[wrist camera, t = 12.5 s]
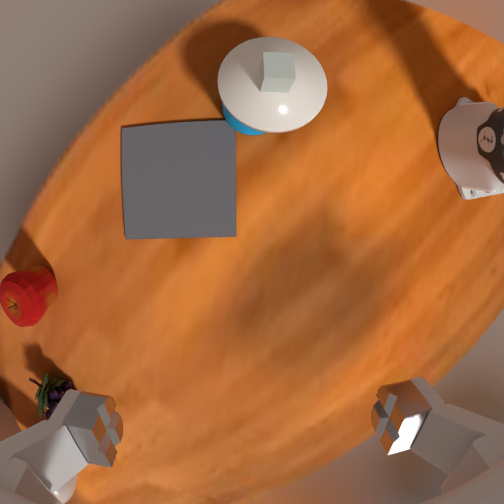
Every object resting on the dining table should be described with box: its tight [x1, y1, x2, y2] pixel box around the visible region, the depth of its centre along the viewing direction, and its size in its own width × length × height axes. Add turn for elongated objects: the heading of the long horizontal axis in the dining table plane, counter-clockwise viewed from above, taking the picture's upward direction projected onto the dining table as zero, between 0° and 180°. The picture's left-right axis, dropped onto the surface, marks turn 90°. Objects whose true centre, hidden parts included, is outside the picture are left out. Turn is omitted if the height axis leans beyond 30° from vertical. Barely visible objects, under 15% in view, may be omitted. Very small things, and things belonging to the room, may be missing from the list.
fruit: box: [29, 372, 74, 421], centre depth 44 cm, size 10×11×15 cm
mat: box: [122, 120, 236, 239], centre depth 39 cm, size 16×16×1 cm
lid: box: [218, 37, 327, 133], centre depth 27 cm, size 12×12×5 cm
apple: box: [0, 265, 57, 327], centre depth 36 cm, size 9×8×12 cm
